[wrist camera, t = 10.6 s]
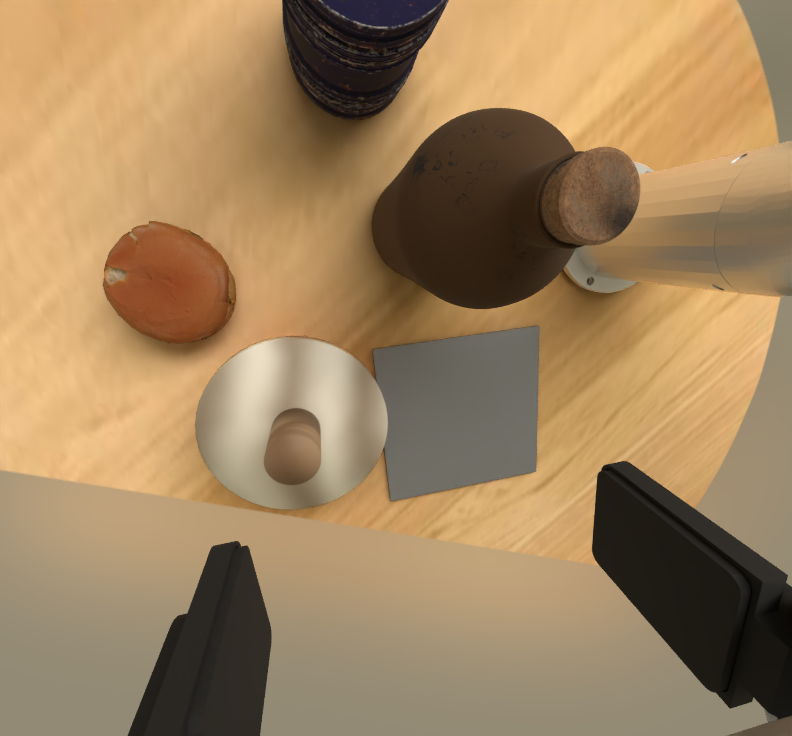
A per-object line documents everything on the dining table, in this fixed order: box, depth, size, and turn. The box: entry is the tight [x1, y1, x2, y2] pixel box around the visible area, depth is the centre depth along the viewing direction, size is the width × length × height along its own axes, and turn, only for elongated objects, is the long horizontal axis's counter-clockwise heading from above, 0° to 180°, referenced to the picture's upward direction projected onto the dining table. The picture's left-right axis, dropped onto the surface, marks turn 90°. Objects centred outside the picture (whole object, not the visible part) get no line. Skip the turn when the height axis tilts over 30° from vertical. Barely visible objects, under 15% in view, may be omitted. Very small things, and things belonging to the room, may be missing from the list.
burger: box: [103, 221, 236, 343], centre depth 32 cm, size 10×9×5 cm
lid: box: [195, 336, 388, 510], centre depth 31 cm, size 16×16×6 cm
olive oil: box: [372, 108, 640, 309], centre depth 25 cm, size 11×11×25 cm
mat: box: [372, 326, 539, 501], centre depth 43 cm, size 18×18×1 cm
